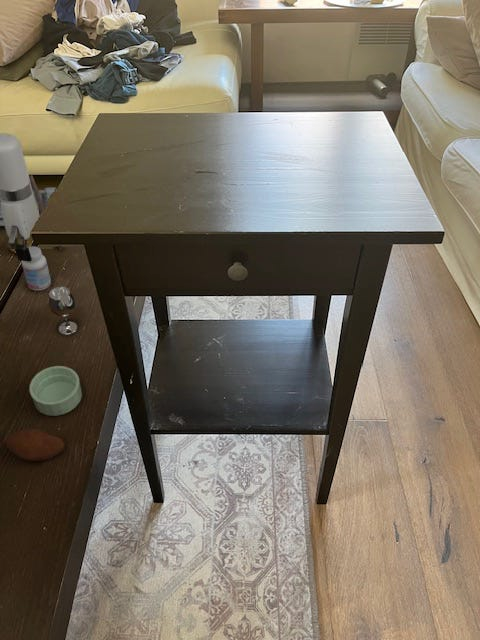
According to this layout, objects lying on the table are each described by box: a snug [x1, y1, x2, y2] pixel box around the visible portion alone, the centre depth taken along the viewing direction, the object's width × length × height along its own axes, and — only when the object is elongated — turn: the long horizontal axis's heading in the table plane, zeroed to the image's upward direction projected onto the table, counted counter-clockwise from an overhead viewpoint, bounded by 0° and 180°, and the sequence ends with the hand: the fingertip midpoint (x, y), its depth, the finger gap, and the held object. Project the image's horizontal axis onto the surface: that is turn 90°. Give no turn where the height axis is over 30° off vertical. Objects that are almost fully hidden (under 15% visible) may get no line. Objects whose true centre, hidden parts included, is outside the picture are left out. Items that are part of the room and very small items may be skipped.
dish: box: [29, 365, 83, 417], centre depth 109 cm, size 10×10×5 cm
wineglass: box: [48, 286, 78, 336], centre depth 121 cm, size 6×6×12 cm
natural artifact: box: [29, 174, 62, 251], centre depth 145 cm, size 4×23×4 cm
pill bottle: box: [21, 246, 52, 292], centre depth 131 cm, size 6×6×11 cm
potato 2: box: [5, 428, 65, 462], centre depth 99 cm, size 6×12×6 cm, turn 89°
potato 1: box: [6, 234, 38, 249], centre depth 143 cm, size 7×8×8 cm
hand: (32, 248), depth 127 cm, fingers open, 9 cm apart
